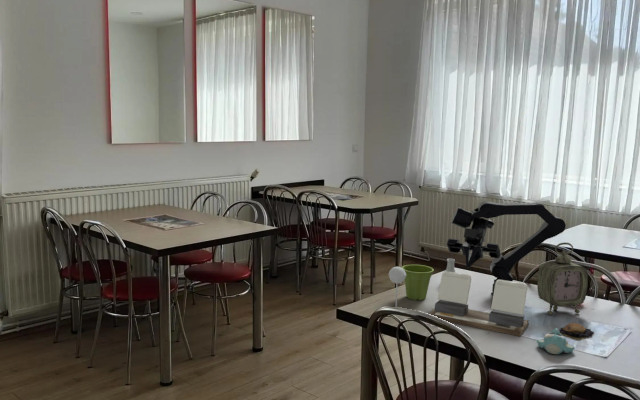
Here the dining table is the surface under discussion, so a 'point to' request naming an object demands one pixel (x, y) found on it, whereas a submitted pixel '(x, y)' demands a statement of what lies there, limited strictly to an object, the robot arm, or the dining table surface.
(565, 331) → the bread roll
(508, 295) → the toggle
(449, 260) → the flask
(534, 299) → the dining table surface
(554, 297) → the tabletop clock
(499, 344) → the dining table surface
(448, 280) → the toggle
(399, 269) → the lollipop
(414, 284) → the plant pot
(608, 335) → the dining table surface
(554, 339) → the stuffed animal
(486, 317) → the switch board
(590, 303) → the dining table surface
